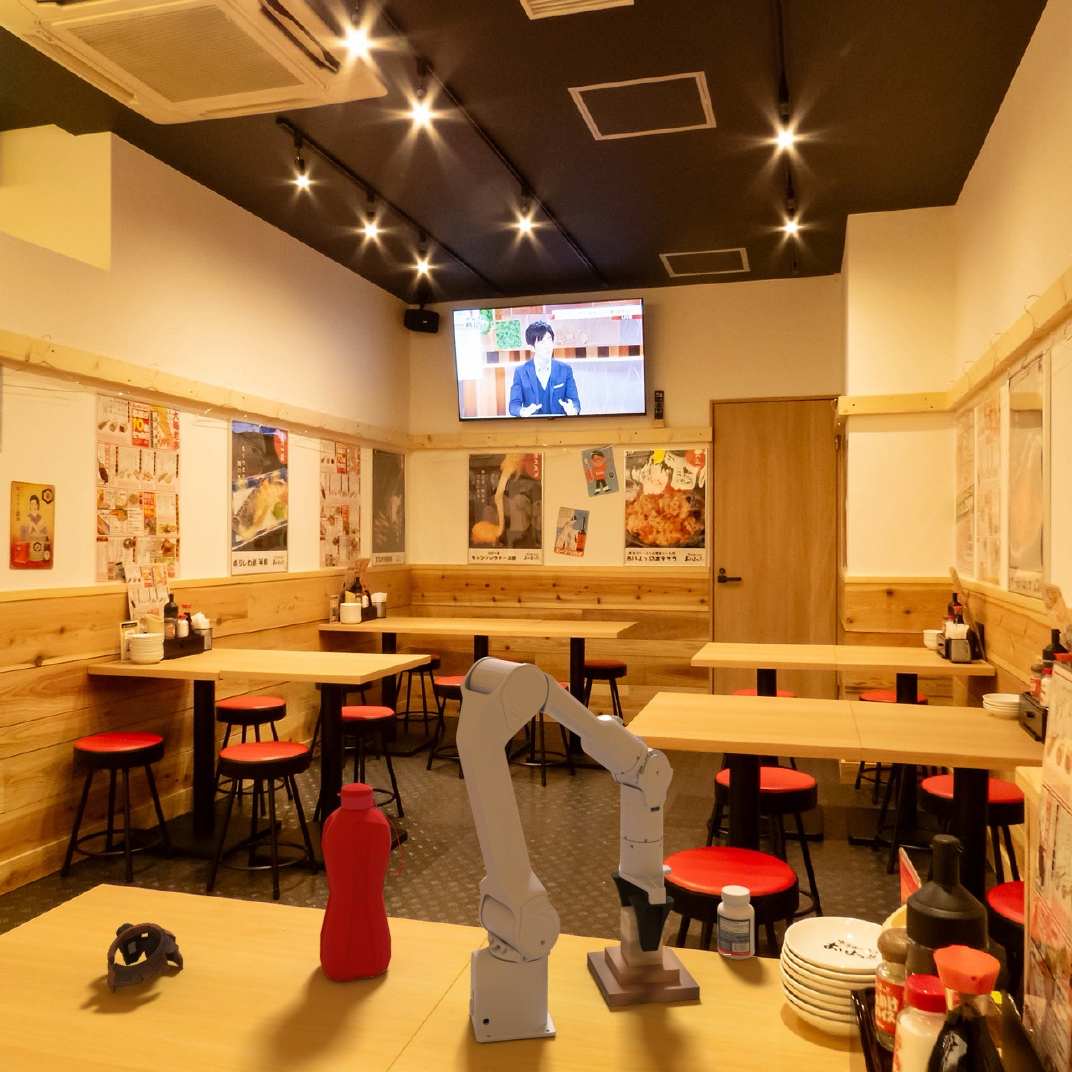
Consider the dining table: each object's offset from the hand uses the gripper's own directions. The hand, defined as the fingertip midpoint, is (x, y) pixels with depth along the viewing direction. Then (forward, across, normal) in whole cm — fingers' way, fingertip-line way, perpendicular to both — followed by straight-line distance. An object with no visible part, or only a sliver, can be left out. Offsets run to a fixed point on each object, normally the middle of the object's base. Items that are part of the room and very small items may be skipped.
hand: (641, 938), depth 119 cm
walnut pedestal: (+6, 0, 0) cm, 6 cm away
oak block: (+3, 0, 0) cm, 3 cm away
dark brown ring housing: (+6, +12, +66) cm, 67 cm away
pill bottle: (+6, +6, -16) cm, 18 cm away
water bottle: (+6, +10, +37) cm, 39 cm away
